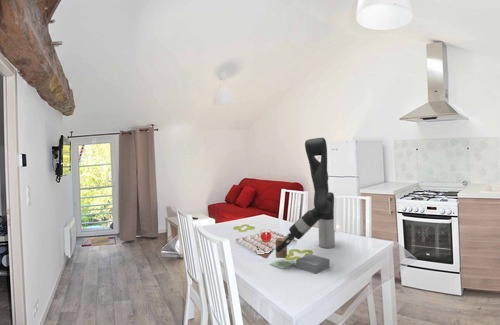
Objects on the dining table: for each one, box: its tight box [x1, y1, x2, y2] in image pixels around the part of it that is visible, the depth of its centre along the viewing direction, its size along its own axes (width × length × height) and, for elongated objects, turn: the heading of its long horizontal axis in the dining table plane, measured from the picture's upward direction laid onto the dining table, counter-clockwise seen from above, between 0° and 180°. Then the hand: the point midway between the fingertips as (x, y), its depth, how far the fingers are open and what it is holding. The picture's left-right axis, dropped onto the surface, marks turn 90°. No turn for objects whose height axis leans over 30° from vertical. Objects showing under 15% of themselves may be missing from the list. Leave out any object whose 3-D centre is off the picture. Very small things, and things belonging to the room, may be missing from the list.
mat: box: [269, 258, 295, 270], centre depth 170 cm, size 9×9×1 cm
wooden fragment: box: [256, 250, 273, 259], centre depth 193 cm, size 26×11×1 cm, turn 176°
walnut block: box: [275, 237, 288, 259], centre depth 169 cm, size 5×5×9 cm
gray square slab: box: [295, 253, 331, 275], centre depth 165 cm, size 12×12×4 cm
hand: (277, 249), depth 170 cm, fingers closed on walnut block, 5 cm apart
